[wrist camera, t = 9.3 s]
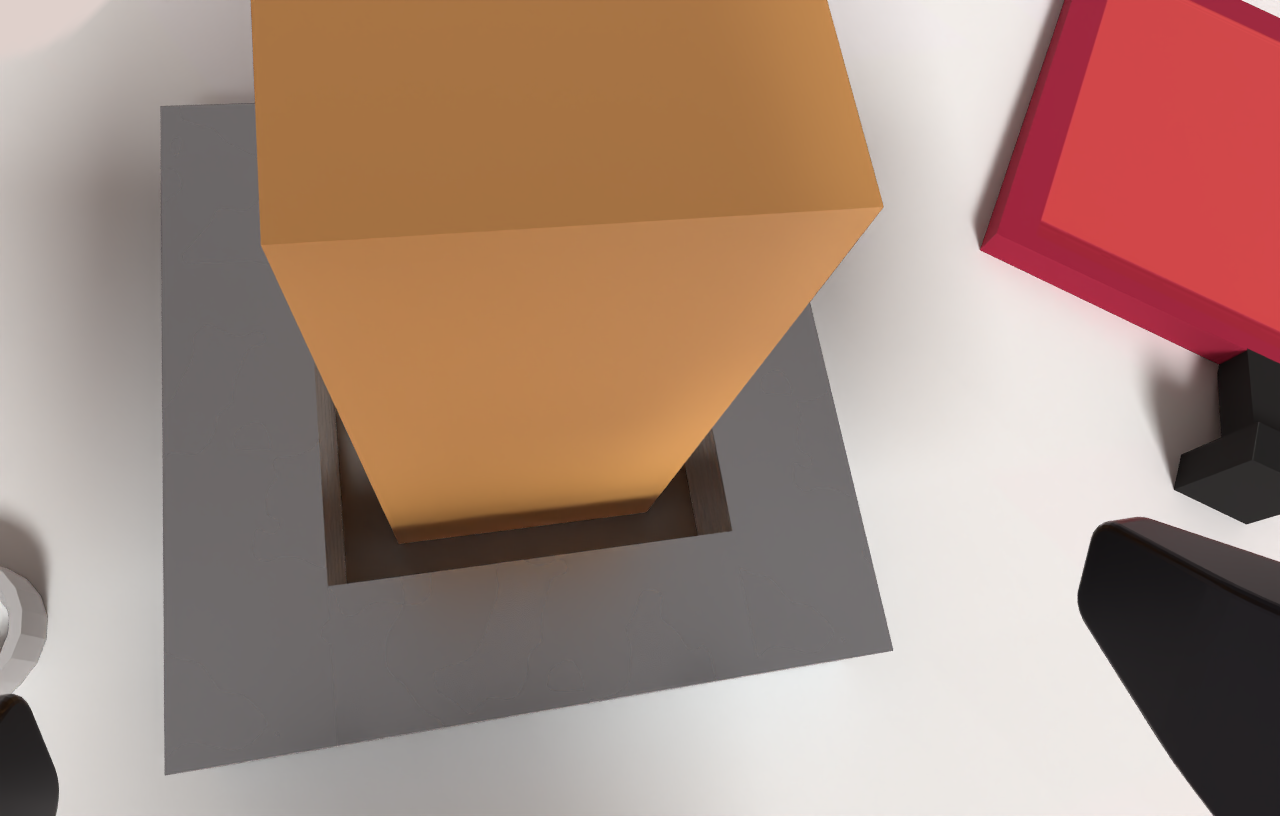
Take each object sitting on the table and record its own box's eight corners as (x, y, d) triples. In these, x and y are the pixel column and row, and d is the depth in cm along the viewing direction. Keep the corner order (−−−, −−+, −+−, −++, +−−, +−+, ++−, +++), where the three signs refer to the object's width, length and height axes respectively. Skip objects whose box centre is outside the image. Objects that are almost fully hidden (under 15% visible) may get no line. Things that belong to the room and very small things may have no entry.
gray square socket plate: (841, 660, 19) (893, 650, 16) (210, 768, 16) (164, 774, 14) (729, 153, 22) (757, 86, 20) (198, 179, 20) (160, 106, 17)
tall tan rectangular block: (646, 512, 19) (883, 206, 8) (398, 544, 18) (261, 245, 7) (610, 294, 20) (765, -225, 9) (379, 312, 19) (240, -248, 8)
